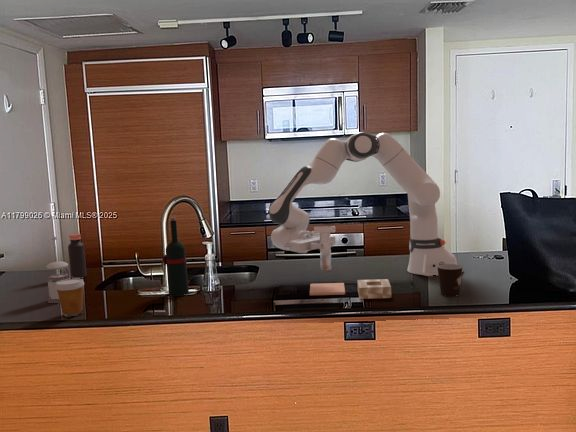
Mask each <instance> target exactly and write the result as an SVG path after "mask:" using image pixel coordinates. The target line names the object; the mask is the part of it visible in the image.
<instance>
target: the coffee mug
mask: <svg viewBox="0 0 576 432" xmlns="http://www.w3.org/2000/svg"><path fill="white" fill-rule="evenodd" d="M437 268H438V275H437V276H438V281H439V290H440V295H441V294H442V296H443V295H446V296H445V297H449V296H454V297H457V296H456V295H459V294H461V293H460V292H461V285H462V284H461V283H462V277H463V276H462V275H463V273H462V269H463V268H464V267H463V265H461V264H458V263H457V264H442V265H438V266H437ZM459 296H460V295H459Z"/></svg>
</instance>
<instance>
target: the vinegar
mask: <svg viewBox="0 0 576 432" xmlns="http://www.w3.org/2000/svg"><path fill="white" fill-rule="evenodd" d="M68 239H69V242H70V243H69V244H68V245H67V250H68V251H67V252H68V262H69V271H70V277H71V276H73V277H84V276H87V277H88V274H87V263H86V252H85V251H86V250H85V245H84V243H82V236H81V233H71V234H69V235H68Z"/></svg>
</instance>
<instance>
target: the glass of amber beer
mask: <svg viewBox="0 0 576 432" xmlns="http://www.w3.org/2000/svg"><path fill="white" fill-rule="evenodd" d="M84 286H85V282H84V278H83V279H80V278H72V279H71V278H70V279H65V278H64V279H63V280H61V281H58V282H57V283H56V286H55V288H56V289H57V292H58V296H59V300H60V307H61V313H62V314H63V313H64V314H75V313H79V312H81V311H82V310H83V308H84V307H83V305H84Z"/></svg>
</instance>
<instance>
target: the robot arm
mask: <svg viewBox="0 0 576 432" xmlns="http://www.w3.org/2000/svg"><path fill="white" fill-rule="evenodd" d="M369 157H374V159H376V160H377V161H378V162H379V163H380V164H381V166H382V167H384V169H385V170H386V171H387V172H388V174H389V175H390V176H391V177H392V178H393V180H394V181H395V182H397V184H398V186H400V187H401V188H402V190H404V191H405V192H406V194H407V200H408V201H407V202H408V203H407V204H408V212H409V221H410V222H409V224H410V226H409V227H410V229H409V230H410V231H409V232H410V235H409V236H410V237H409V243H408V244H409V245H408V247H409V248H408V249H409V252H410V253H409V260H408V266H407V272H408V273H410V274H415V275H422V276H426V277H434V276H433V275H436V276H438V268H437V266H438V265H442V264H457V265H458V261H457V258H456V256H455V255H454V253H452V252H450V251H449V249H446V248H445V247H443V246H445V245H446V240H444V239H441V238H439V235H438V234H439V231H438V229H439V228H438V216H437V210H436V209H437V208H436V204H437V203H438V201H439V199H440V198H441V190H440V187H439V185H438V184H437V183H436V182H435V181H434V180H433V178H432V177H431V176H430V175H429V174H428V173H427V172H426V171H425V170H424V169H423V168H422V167H421V166H420V165H419V164H418V163H417V162H416V161H415V159H414V158H413V157H412V156H411V155H410V154H409V152H408V151H407V150H406V149H405V148H404V147H403V145H401V143H399V141H398V140H396V139H395V138H394V137H393V136H392V135H391V134H389V133H387V132H381V133H377V134H376V135H373V134H371V133H367V132H365V131H358V132H356V133H354V134H352V135H350V136H349V137H348V138H347V139H345V140H341V139H339V138H336V137H335V138H334V137H333V138H332V137H331V138H329V139H327V140H326V141H325V142H324V143H323V144H322V146H321V147H320V148H319V150H318V152H317V153H316V155H315V156H314V158H313V160H312V161H311V162H310V163H309V164H308V165H307V166H303V167H301V168H300V169H299V170H298V171H297V172H296V174H295V175H294V176H293V177H292V179H291V180H290V181H289V183H288V184H287V185H286V187H284V189H283V190H282V192H281V193H280V194H279V196H278V197H277V198H275V200H273V201H272V203H271V204H270V205H269V208H268V216H269V219H270V221H271V222H272V223H274V224H277V225H280V226H278V227H277V228H275V229H273V230H272V232H271V233H270V239H271V242H272V244H273V245H274V246H275V247H276V248H278V249H280V250H283V251H291V252H294V253H300V254H306V253H308V252H310V251H313V250H320V249H323V244H320V233H314V230H312V231H311V230H308V228H309V226H310V220H311V219H310V215H309V213H308V212H306V211H305V210H303V209H302V208H300V207H297V206H296V205H295V204H293V201H295V199H296V198H297V197H298V195H299V193H300V192H301V191H302V190H303V188H304V187H306V186H307V185H311V184H312V185H327V184H329V183H330V182H332V181H333V180H334V178H335V177H336V176H337V174H338V172H339V171H340V169H341V166H342V165H343V163H344V162H345V161H350V162H353V163H356V162H361V161H364V160H366V159H367V158H369ZM330 242H331V248H333V247H334V246H335V245H336V236H335V235H334V234H330ZM462 272H463V273H464V270H463V269H462Z"/></svg>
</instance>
